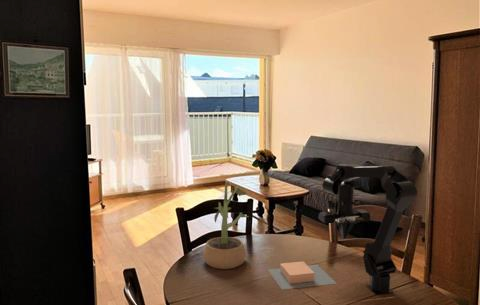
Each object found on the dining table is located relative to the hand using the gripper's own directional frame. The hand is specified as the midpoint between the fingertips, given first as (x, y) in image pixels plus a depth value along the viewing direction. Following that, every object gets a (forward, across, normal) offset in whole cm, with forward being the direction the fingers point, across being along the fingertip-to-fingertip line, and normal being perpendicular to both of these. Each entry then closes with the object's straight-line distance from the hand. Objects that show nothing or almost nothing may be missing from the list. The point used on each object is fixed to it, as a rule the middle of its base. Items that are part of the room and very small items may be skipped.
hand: (343, 238), depth 146 cm
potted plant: (+12, +41, -19) cm, 47 cm away
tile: (+10, +15, +3) cm, 18 cm away
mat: (+12, +18, +3) cm, 22 cm away
